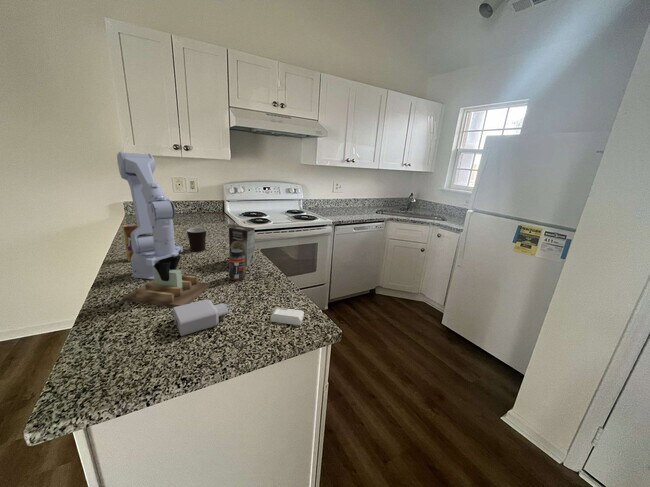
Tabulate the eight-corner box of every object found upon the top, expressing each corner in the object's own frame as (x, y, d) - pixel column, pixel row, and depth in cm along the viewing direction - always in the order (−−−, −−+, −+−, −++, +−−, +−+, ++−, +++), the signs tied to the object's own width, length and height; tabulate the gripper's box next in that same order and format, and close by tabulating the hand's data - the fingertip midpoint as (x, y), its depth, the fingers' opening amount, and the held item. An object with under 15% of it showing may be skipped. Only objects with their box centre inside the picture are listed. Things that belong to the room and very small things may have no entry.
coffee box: (229, 263, 119) (227, 227, 114) (237, 258, 125) (236, 224, 120) (247, 266, 117) (246, 230, 112) (255, 261, 123) (254, 227, 118)
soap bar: (300, 326, 78) (300, 318, 77) (270, 322, 79) (270, 314, 78) (303, 317, 83) (304, 309, 82) (275, 313, 83) (275, 306, 83)
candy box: (127, 262, 112) (122, 226, 108) (127, 258, 115) (122, 224, 111) (153, 259, 117) (148, 224, 113) (152, 255, 121) (148, 222, 116)
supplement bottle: (240, 282, 102) (240, 254, 98) (226, 280, 103) (225, 251, 99) (248, 276, 107) (247, 249, 104) (234, 274, 108) (233, 247, 105)
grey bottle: (238, 320, 78) (181, 338, 69) (227, 306, 85) (173, 320, 76) (238, 306, 77) (180, 322, 68) (226, 292, 84) (172, 305, 74)
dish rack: (122, 300, 84) (120, 290, 83) (159, 279, 99) (158, 270, 98) (182, 308, 82) (181, 298, 81) (210, 286, 97) (210, 277, 96)
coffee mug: (202, 253, 128) (201, 233, 125) (184, 251, 128) (183, 231, 125) (212, 246, 139) (212, 227, 137) (196, 244, 139) (195, 226, 137)
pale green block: (155, 290, 89) (153, 270, 87) (160, 286, 92) (158, 267, 90) (178, 293, 88) (176, 273, 86) (182, 289, 91) (181, 270, 89)
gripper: (159, 247, 78) (164, 289, 82) (189, 234, 91) (192, 271, 95) (137, 244, 78) (142, 286, 82) (170, 232, 92) (174, 269, 96)
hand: (168, 278), depth 89 cm, fingers closed on pale green block, 2 cm apart
